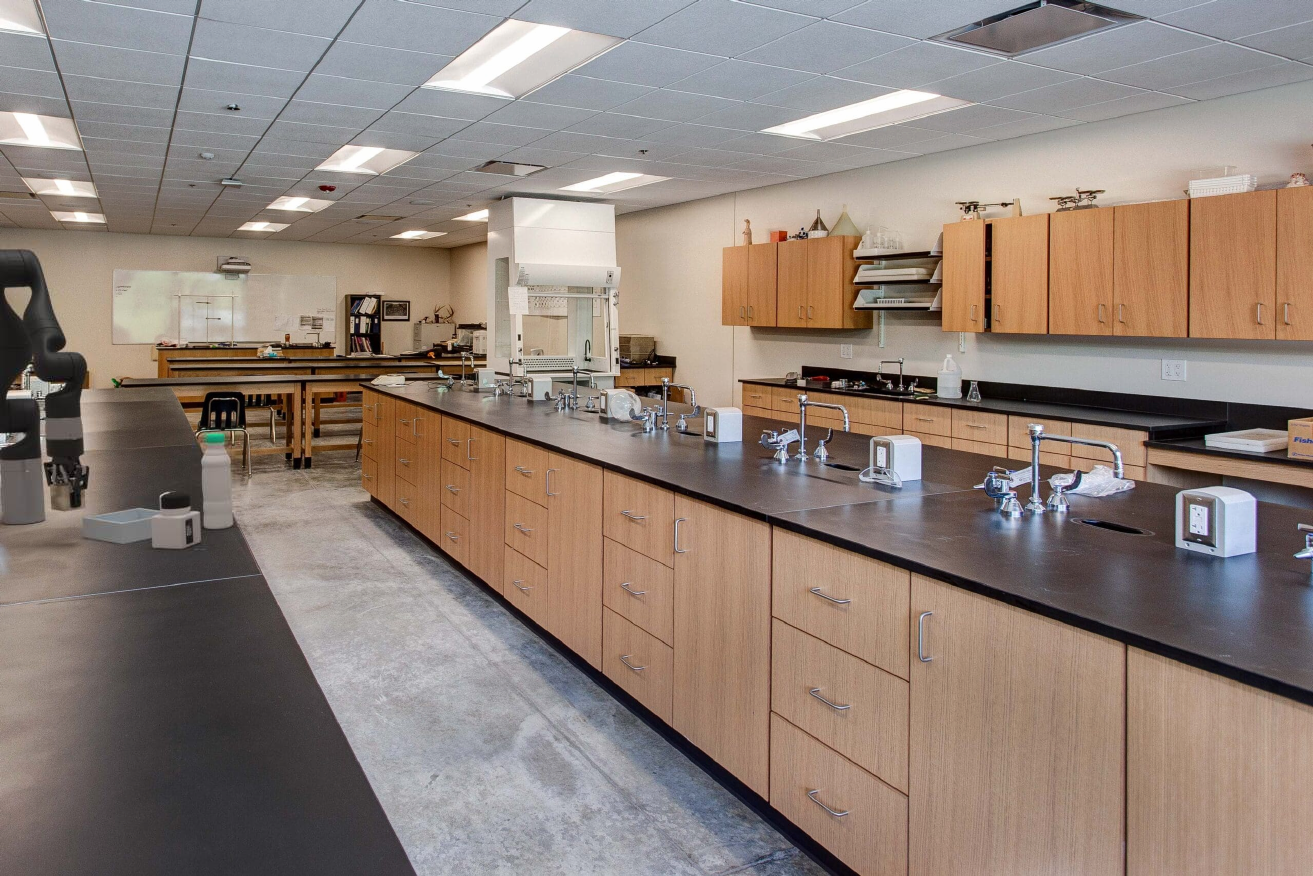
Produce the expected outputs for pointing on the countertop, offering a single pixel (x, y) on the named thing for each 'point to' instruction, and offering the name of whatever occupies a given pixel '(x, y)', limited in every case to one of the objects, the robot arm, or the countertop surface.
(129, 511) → the gray bin
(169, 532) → the container
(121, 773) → the countertop surface
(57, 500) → the maple block
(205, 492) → the water bottle
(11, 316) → the robot arm
